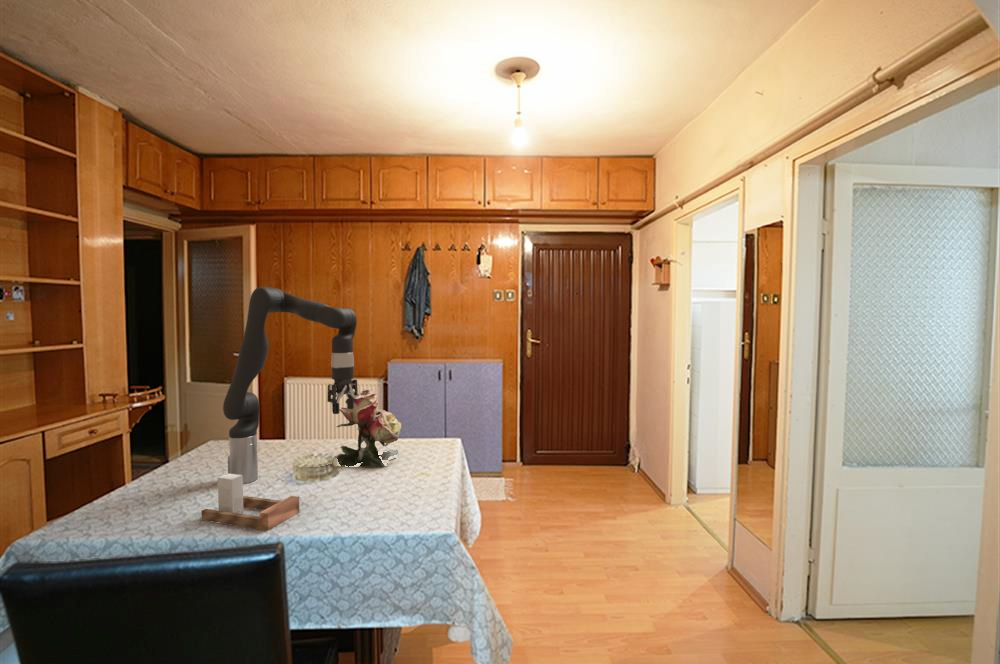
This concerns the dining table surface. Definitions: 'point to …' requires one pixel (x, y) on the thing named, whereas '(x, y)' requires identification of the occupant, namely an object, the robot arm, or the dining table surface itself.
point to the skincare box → (230, 493)
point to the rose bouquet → (369, 431)
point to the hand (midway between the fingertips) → (343, 411)
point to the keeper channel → (268, 518)
